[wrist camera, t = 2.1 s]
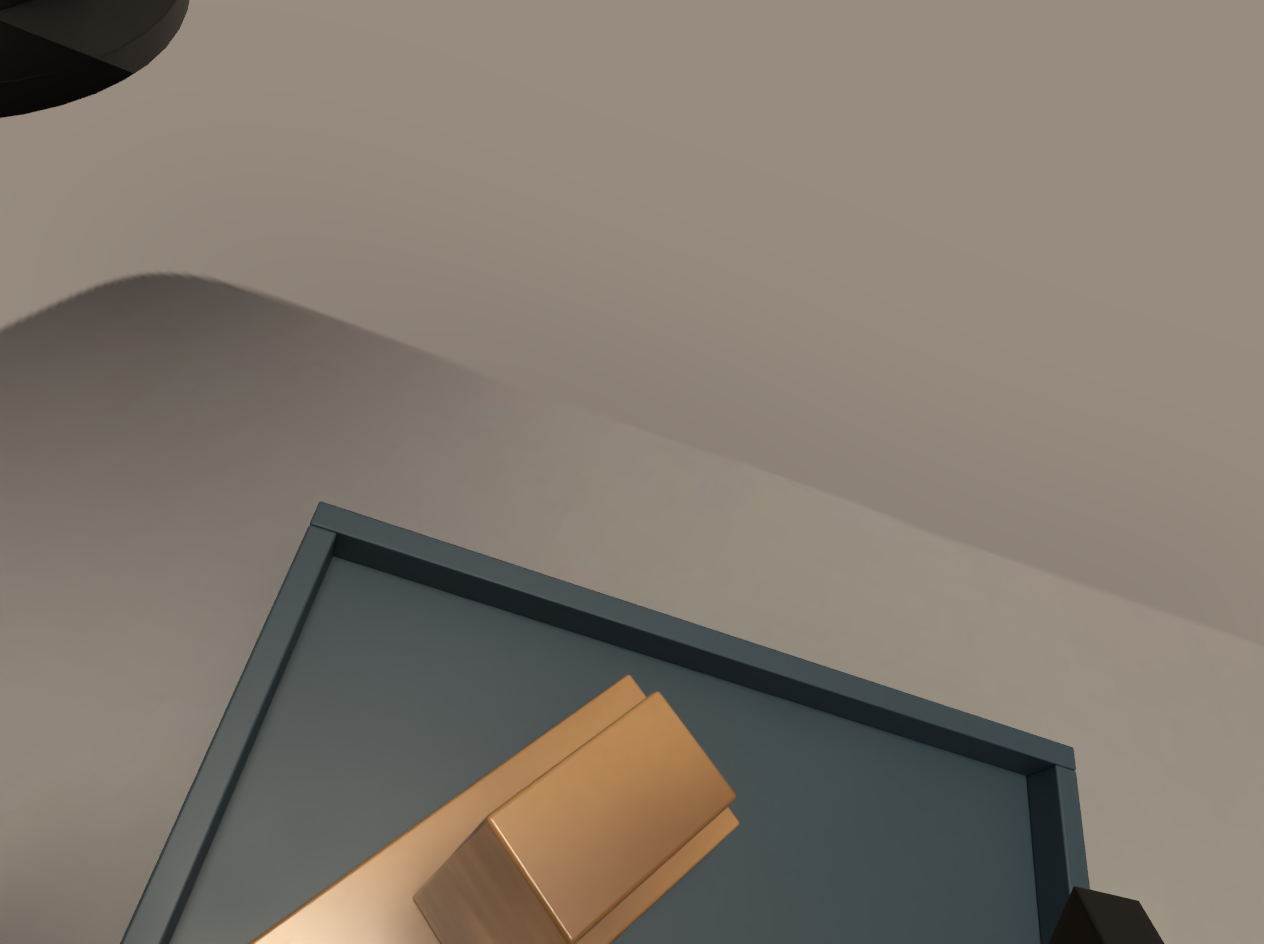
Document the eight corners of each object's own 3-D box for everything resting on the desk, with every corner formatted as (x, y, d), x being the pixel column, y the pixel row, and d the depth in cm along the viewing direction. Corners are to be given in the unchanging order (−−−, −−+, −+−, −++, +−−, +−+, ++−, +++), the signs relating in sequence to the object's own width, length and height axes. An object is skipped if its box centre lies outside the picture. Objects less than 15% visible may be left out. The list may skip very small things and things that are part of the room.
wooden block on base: (215, 978, 21) (202, 909, 13) (604, 699, 28) (753, 540, 20) (329, 1186, 20) (394, 1249, 12) (708, 841, 27) (911, 733, 19)
